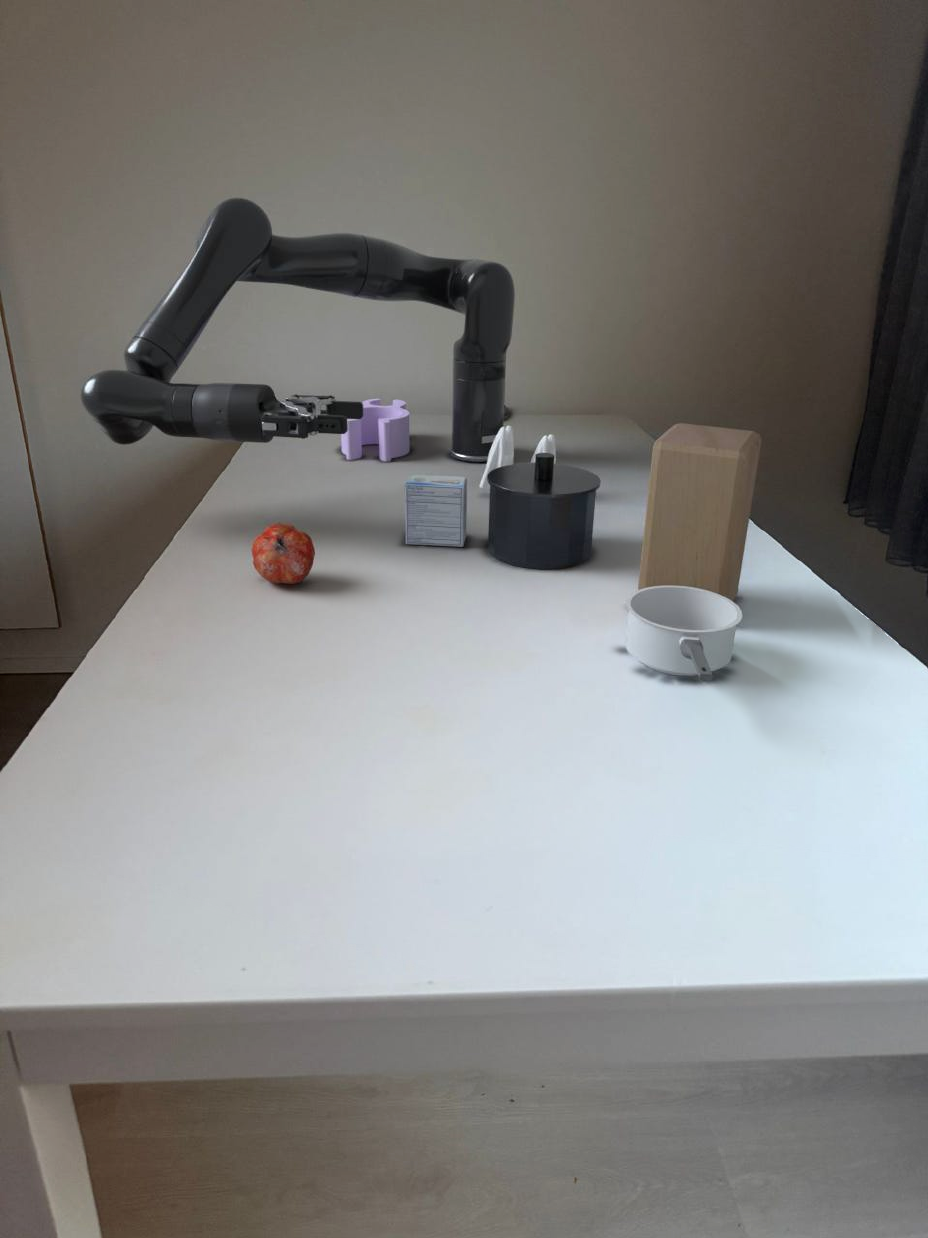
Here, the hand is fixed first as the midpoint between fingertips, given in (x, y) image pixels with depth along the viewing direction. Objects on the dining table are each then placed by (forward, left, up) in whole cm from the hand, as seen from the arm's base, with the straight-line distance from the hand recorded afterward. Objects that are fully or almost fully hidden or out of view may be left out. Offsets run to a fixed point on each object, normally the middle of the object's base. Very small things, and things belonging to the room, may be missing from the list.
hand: (355, 417), depth 118 cm
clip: (-49, -8, -17) cm, 52 cm away
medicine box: (0, +11, -17) cm, 20 cm away
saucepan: (+34, +41, -17) cm, 56 cm away
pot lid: (+1, +25, -7) cm, 26 cm away
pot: (+1, +25, -16) cm, 30 cm away
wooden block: (+16, +43, -17) cm, 49 cm away
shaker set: (-23, +20, -17) cm, 35 cm away
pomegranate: (+17, -5, -17) cm, 24 cm away
